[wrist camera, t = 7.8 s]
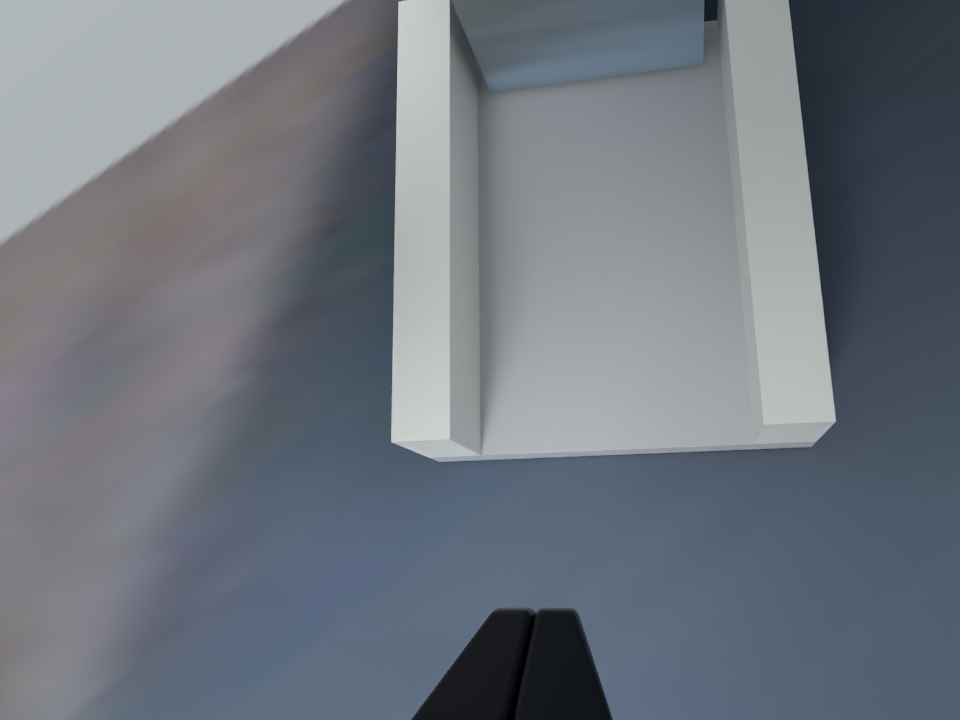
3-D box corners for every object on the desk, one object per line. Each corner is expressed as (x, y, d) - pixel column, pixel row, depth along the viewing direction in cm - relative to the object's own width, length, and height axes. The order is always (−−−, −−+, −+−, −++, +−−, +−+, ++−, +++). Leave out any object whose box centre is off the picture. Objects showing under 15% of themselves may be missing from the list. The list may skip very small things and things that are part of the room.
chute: (811, 447, 18) (835, 421, 15) (438, 461, 20) (391, 441, 17) (768, 32, 20) (781, -66, 17) (440, 81, 22) (398, 1, 19)
